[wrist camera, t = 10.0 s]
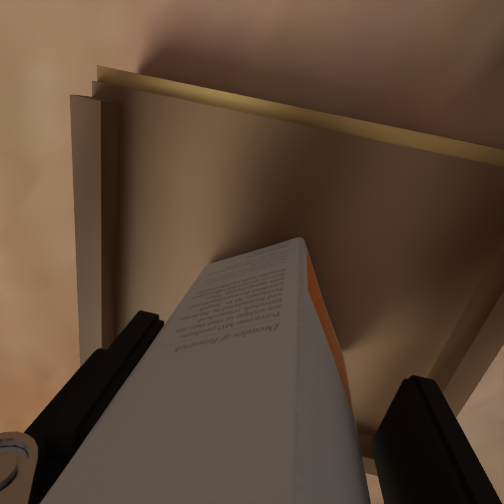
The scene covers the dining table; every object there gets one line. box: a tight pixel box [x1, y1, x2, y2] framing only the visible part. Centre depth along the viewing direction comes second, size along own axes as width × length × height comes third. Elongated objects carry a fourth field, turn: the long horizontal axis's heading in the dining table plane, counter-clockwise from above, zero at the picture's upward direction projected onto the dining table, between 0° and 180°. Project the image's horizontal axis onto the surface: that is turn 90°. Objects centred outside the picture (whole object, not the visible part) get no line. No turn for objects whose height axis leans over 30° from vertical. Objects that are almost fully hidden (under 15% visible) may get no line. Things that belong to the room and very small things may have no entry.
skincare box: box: [40, 237, 371, 504], centre depth 8 cm, size 6×4×12 cm
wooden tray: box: [70, 65, 504, 476], centre depth 14 cm, size 16×14×4 cm
